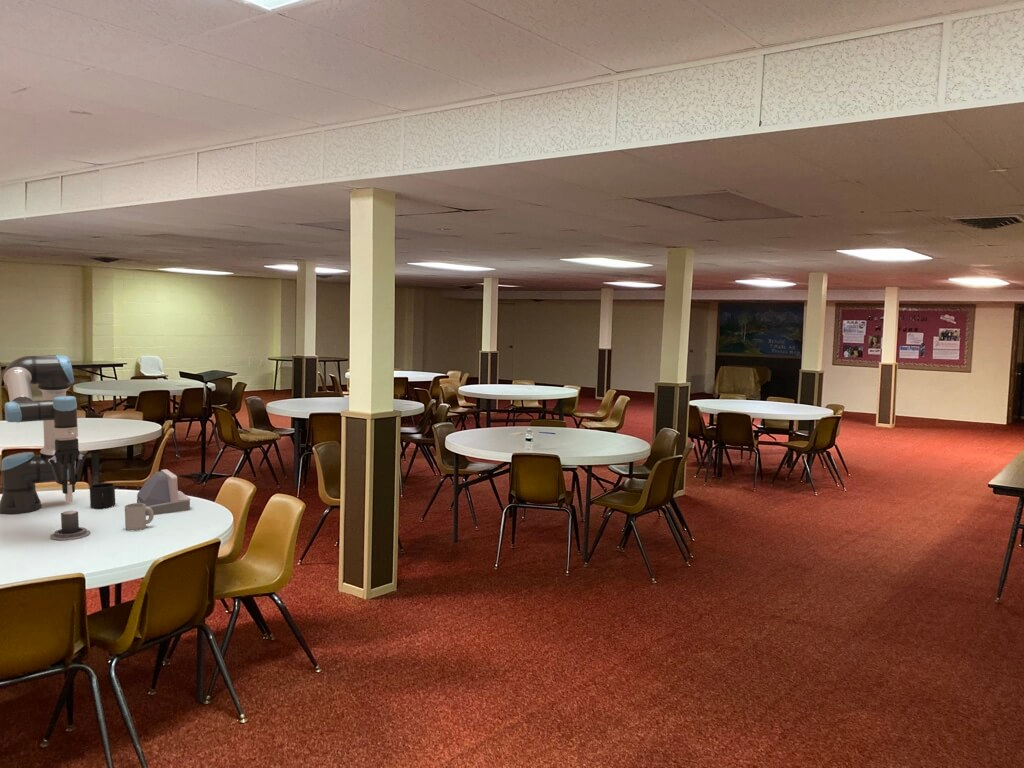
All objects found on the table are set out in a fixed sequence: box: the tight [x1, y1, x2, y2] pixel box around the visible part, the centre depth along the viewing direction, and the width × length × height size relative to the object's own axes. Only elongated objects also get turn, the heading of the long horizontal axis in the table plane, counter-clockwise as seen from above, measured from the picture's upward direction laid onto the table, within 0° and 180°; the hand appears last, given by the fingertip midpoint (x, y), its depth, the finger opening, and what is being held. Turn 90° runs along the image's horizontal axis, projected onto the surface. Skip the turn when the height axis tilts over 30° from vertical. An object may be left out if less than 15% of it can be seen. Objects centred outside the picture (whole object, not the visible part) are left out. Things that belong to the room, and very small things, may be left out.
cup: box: [124, 502, 155, 531], centre depth 309 cm, size 7×10×9 cm
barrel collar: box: [49, 526, 91, 541], centre depth 298 cm, size 13×13×2 cm
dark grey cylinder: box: [60, 510, 80, 534], centre depth 298 cm, size 6×6×8 cm
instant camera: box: [136, 468, 191, 517], centre depth 339 cm, size 21×21×15 cm
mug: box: [89, 482, 116, 510], centre depth 340 cm, size 9×12×9 cm
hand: (69, 501), depth 297 cm, fingers closed
